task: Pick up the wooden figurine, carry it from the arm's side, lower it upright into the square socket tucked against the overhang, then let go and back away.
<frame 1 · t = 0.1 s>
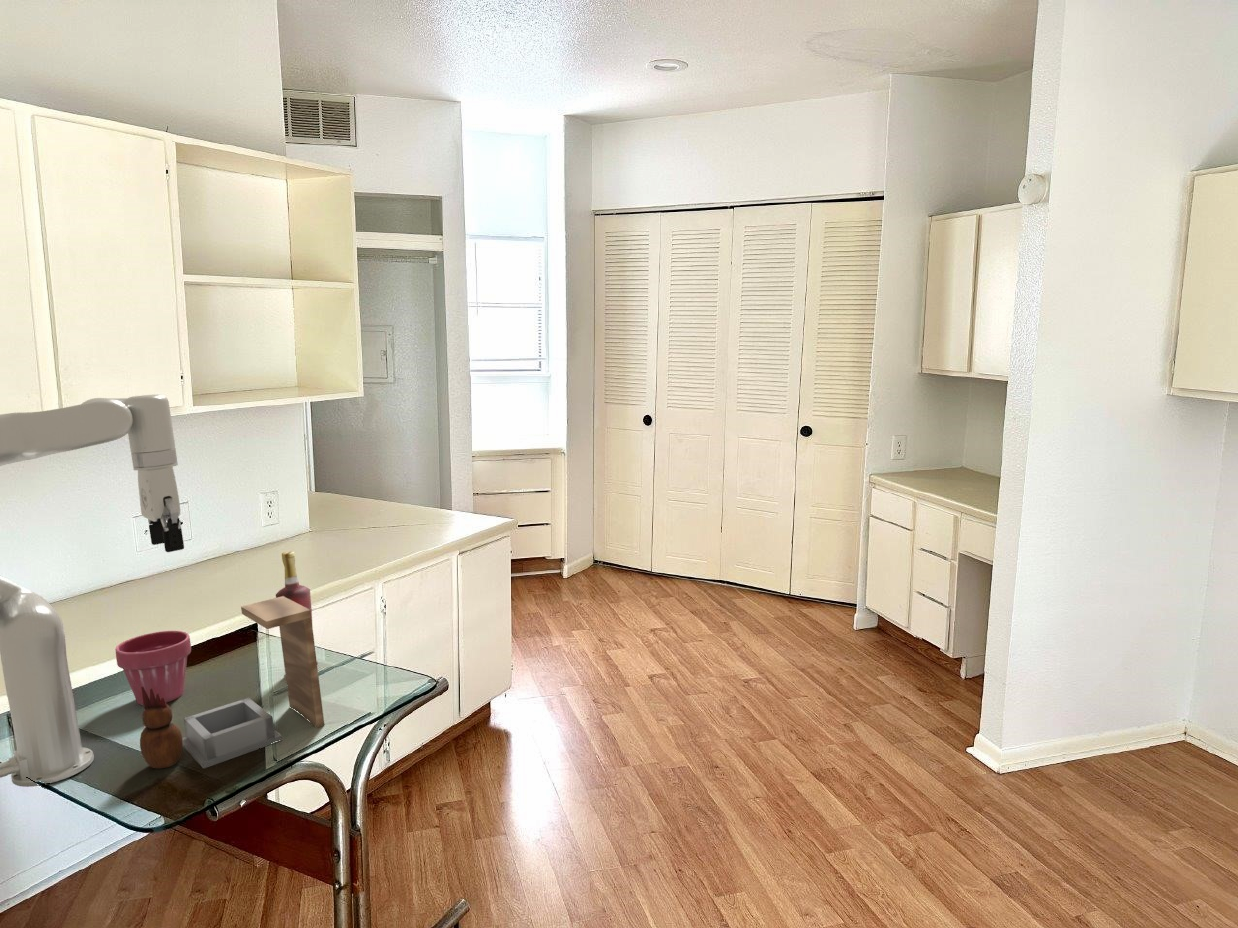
hand: (167, 546, 165), 37 cm above the table, tool pointing down, fingers open, 9 cm apart
liquor: (302, 672, 195), on the table
wooden figurine: (164, 765, 154), on the table
wooden l-shaped stand: (293, 720, 169), on the table
plant pot: (161, 697, 186), on the table
socket: (231, 742, 162), on the table
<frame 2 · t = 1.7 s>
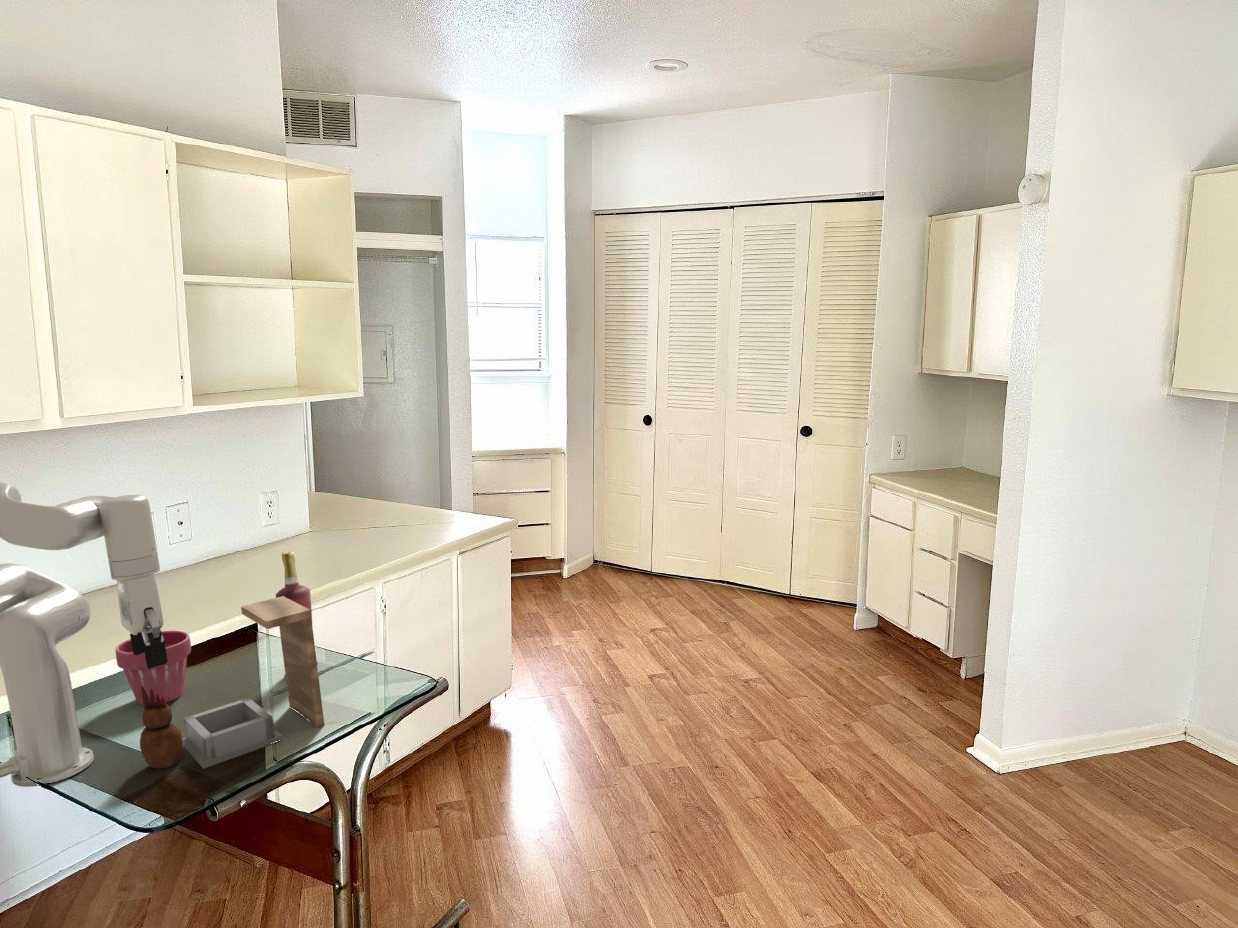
hand: (150, 658, 151), 20 cm above the table, tool pointing down, fingers open, 9 cm apart
nothing on the table moved.
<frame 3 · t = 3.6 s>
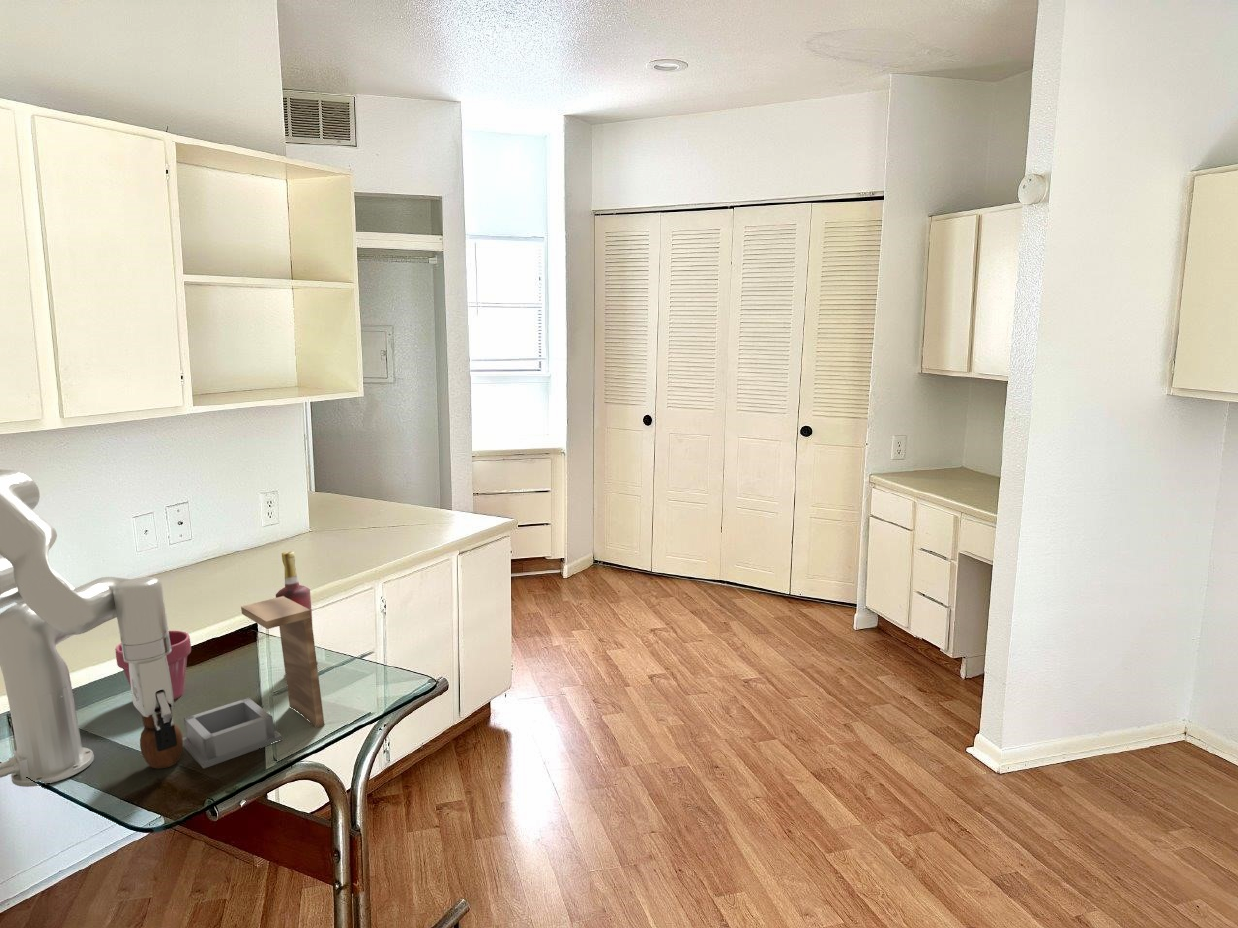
hand: (161, 740, 154), 5 cm above the table, tool pointing down, fingers closed on wooden figurine, 7 cm apart
wooden figurine: (164, 765, 154), on the table, touching gripper
everything else where it was.
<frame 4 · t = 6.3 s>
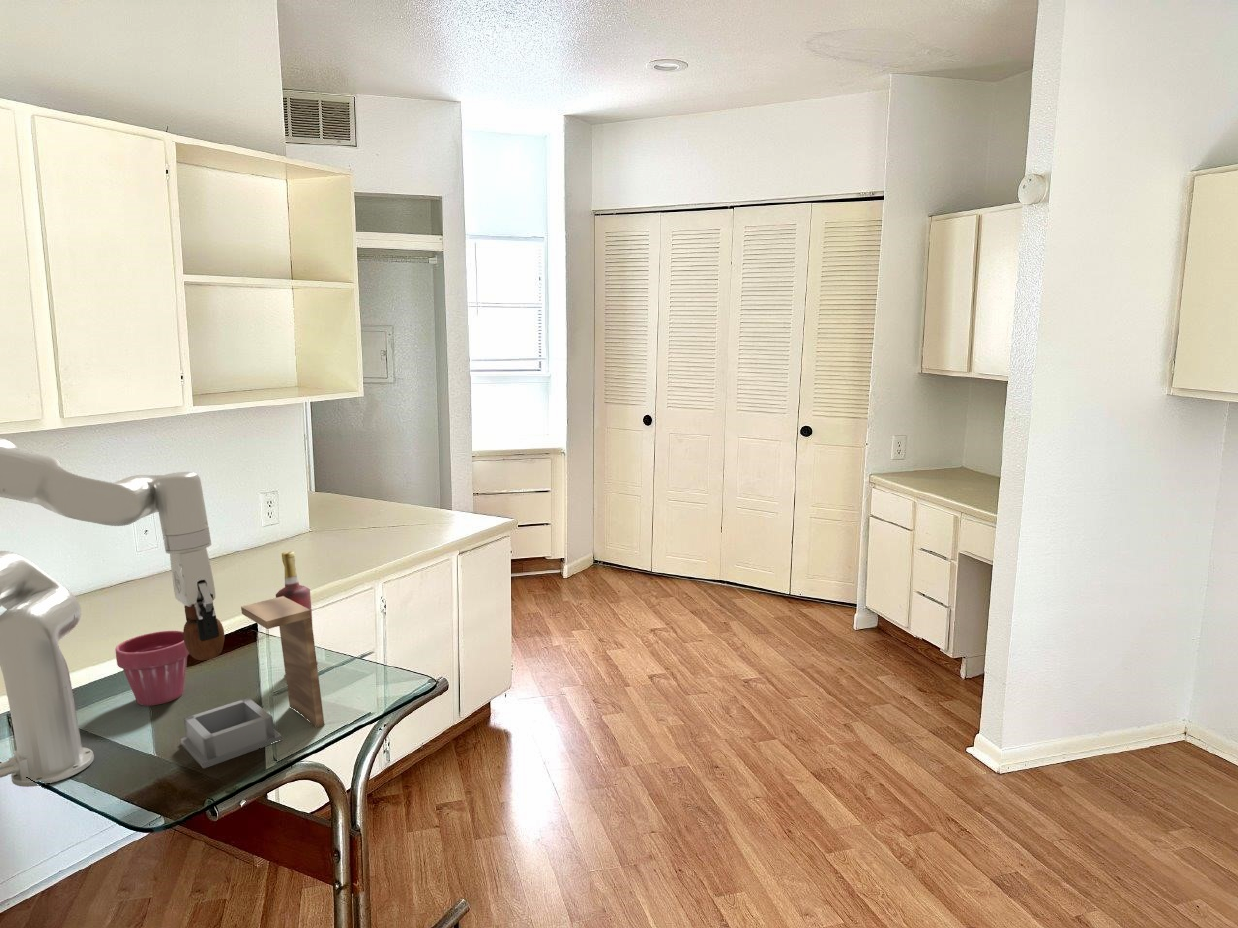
hand: (203, 633, 157), 22 cm above the table, tool pointing down, fingers closed on wooden figurine, 7 cm apart
wooden figurine: (207, 657, 157), point 18 cm above the table, touching gripper
everything else where it was.
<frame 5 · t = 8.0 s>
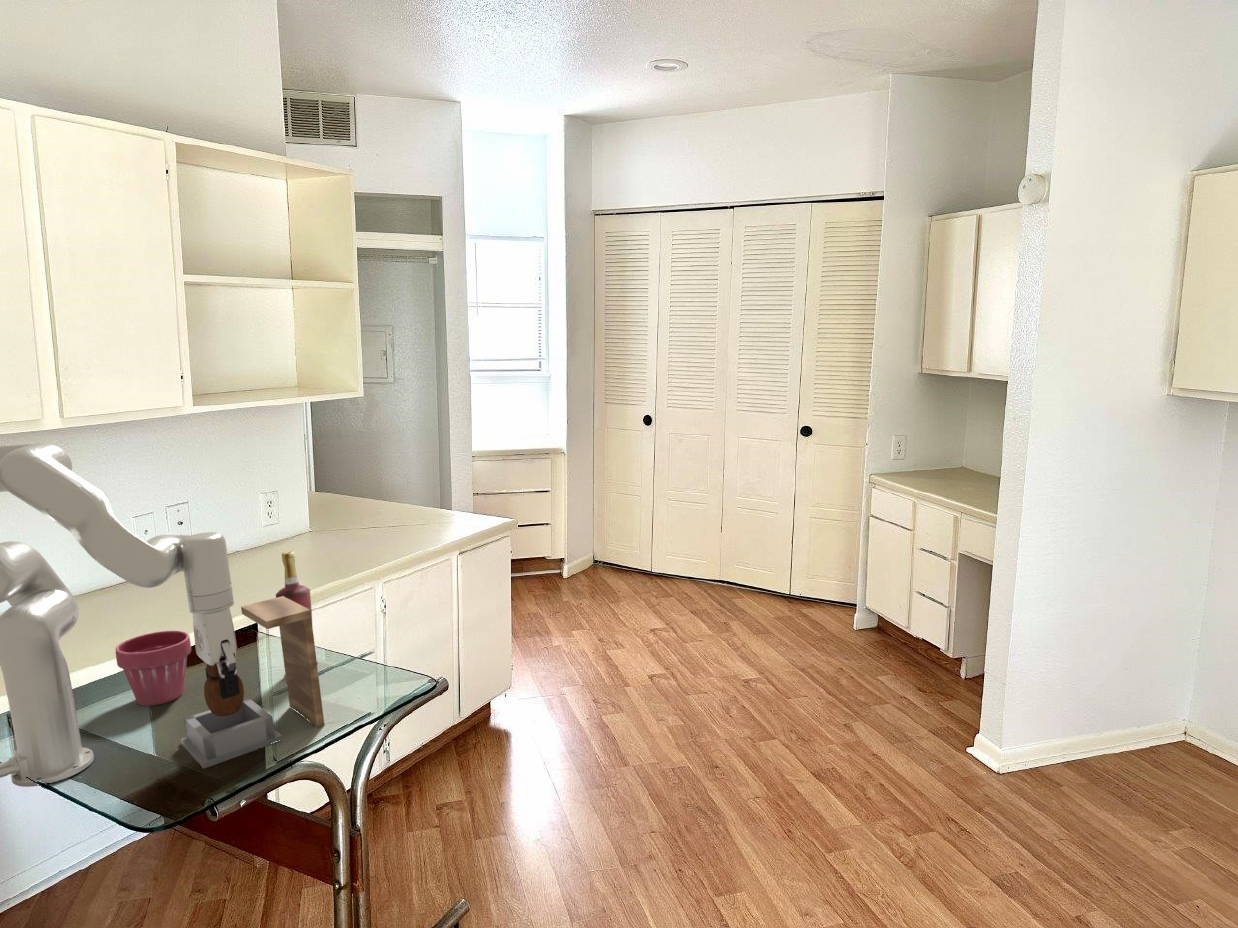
hand: (223, 690, 160), 10 cm above the table, tool pointing down, fingers closed on wooden figurine, 7 cm apart
wooden figurine: (227, 713, 161), point 6 cm above the table, touching gripper
everything else where it was.
when the fingers open (7 cm above the table, at t = 9.1 s): wooden figurine drops 2 cm, resting on socket.
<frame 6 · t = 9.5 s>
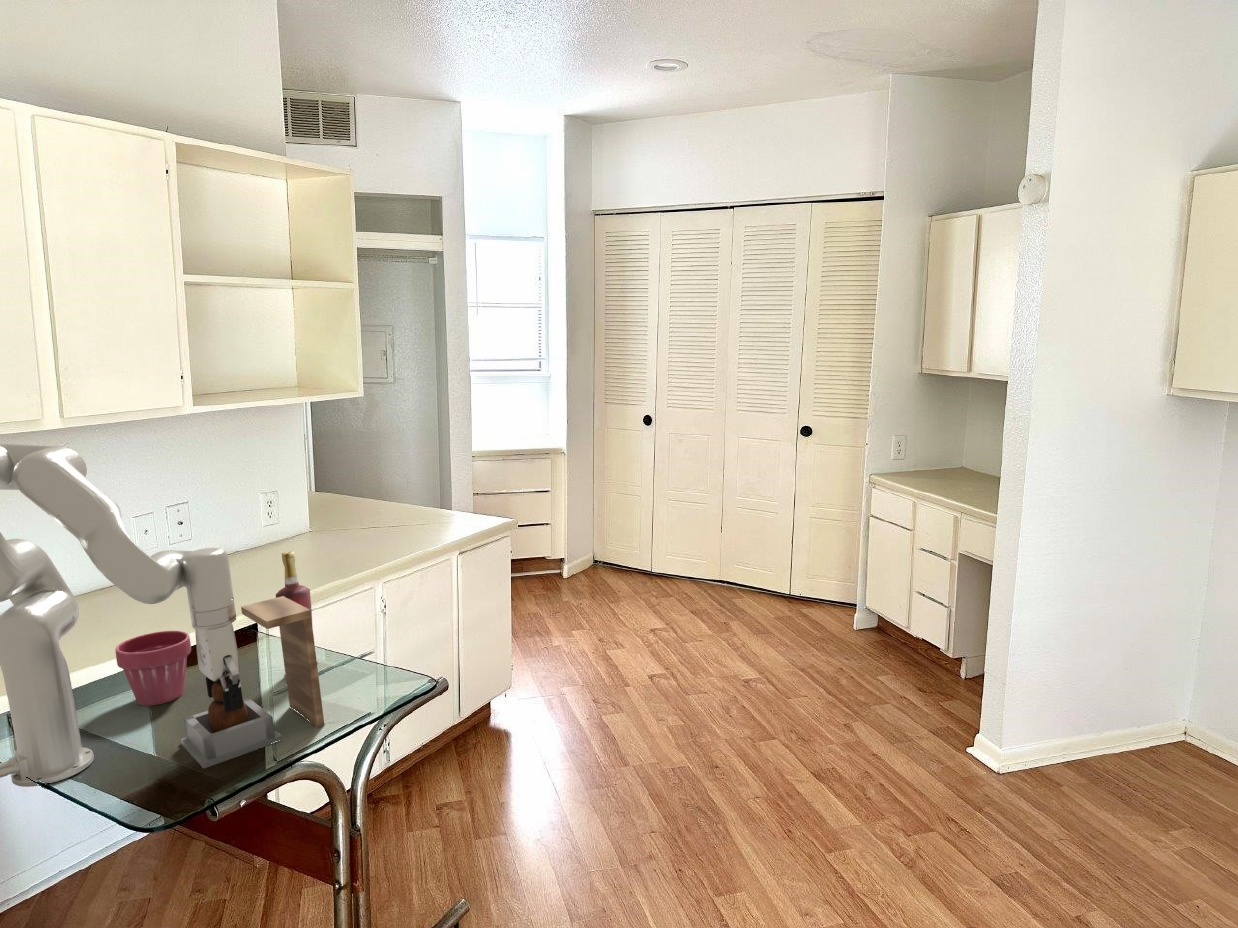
hand: (225, 702, 160), 8 cm above the table, tool pointing down, fingers open, 9 cm apart
wooden figurine: (229, 737, 161), point 1 cm above the table, touching socket
everything else where it was.
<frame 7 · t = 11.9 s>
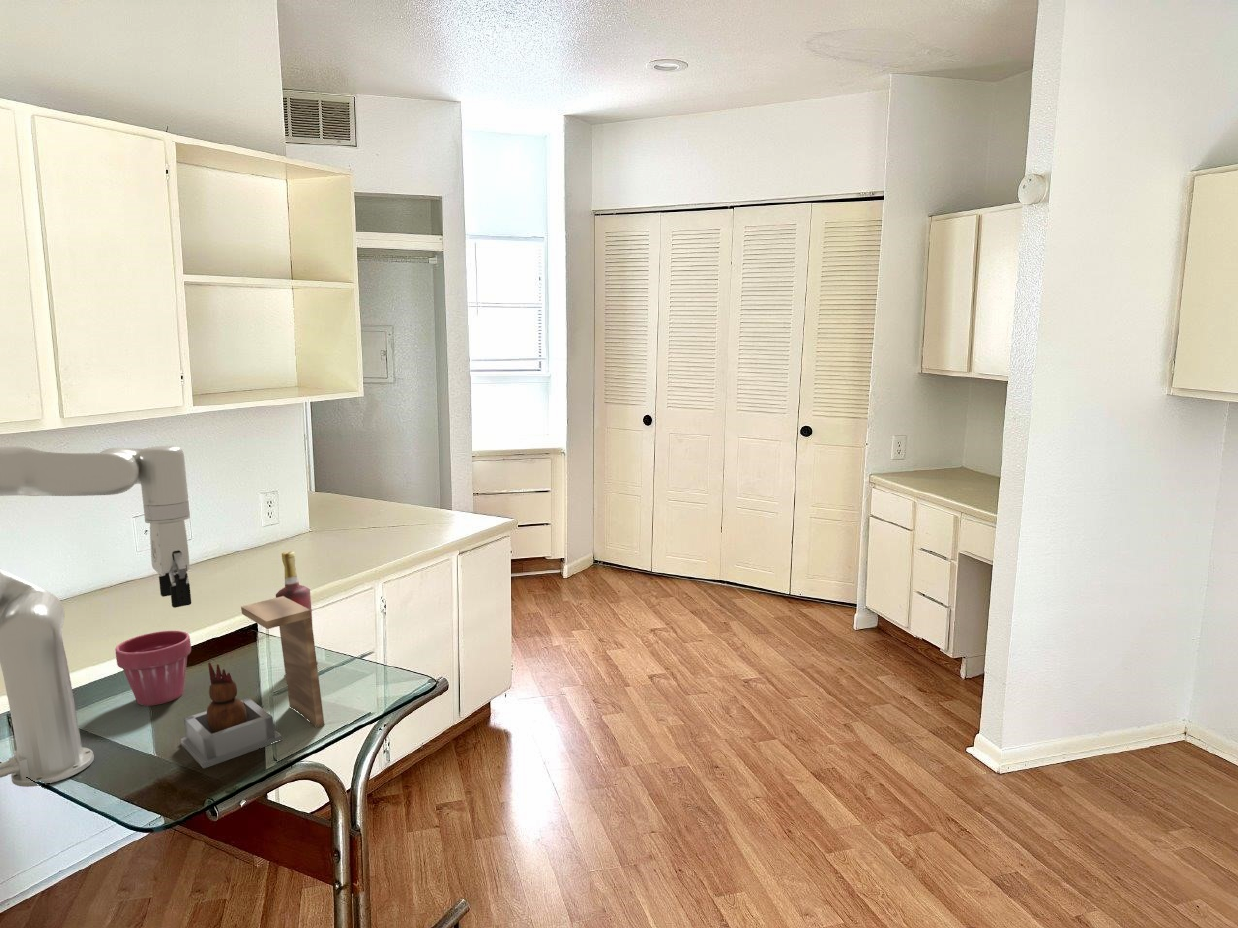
hand: (175, 600, 162), 27 cm above the table, tool pointing down, fingers open, 9 cm apart
nothing on the table moved.
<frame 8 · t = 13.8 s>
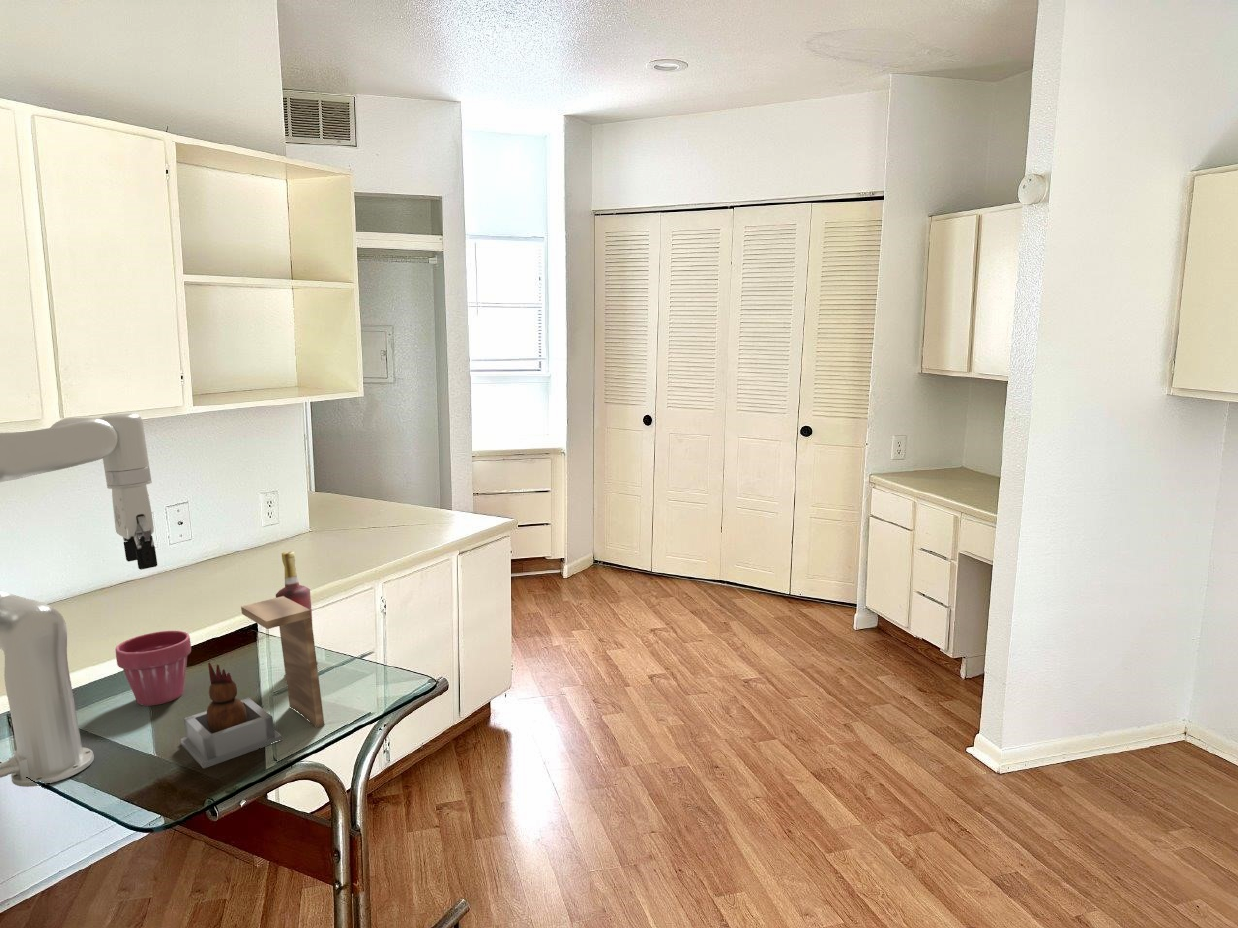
hand: (141, 563, 167), 33 cm above the table, tool pointing down, fingers open, 9 cm apart
nothing on the table moved.
at the end: wooden figurine 0.2 cm off-centre on the socket, point 0.8 cm above the socket's base; wooden figurine tilted 0°; the gripper is holding nothing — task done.
